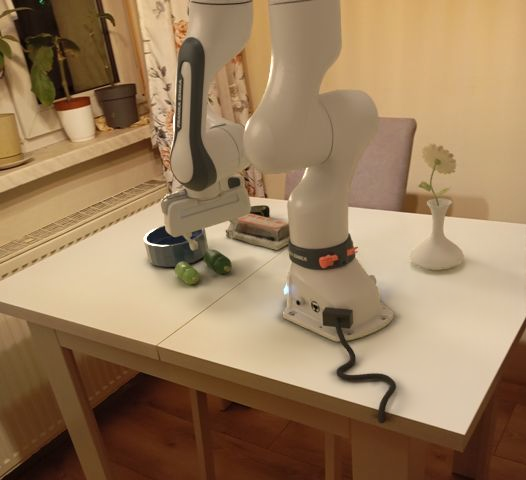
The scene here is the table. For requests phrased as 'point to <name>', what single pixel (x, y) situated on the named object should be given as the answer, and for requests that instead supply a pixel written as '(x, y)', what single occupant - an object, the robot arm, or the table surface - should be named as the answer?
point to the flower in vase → (437, 217)
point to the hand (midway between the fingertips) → (213, 243)
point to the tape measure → (260, 210)
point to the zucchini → (217, 261)
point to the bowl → (173, 247)
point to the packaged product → (262, 231)
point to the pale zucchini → (187, 273)
